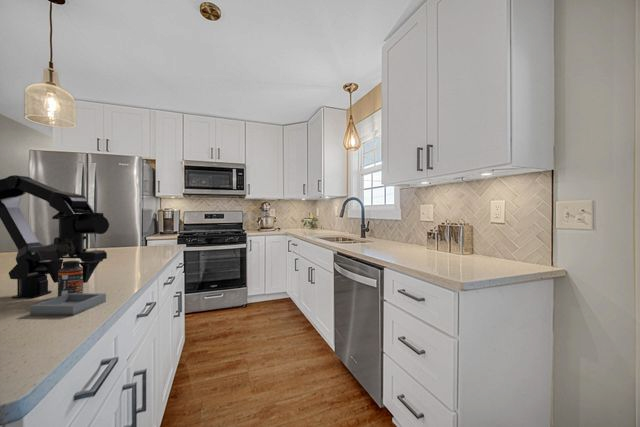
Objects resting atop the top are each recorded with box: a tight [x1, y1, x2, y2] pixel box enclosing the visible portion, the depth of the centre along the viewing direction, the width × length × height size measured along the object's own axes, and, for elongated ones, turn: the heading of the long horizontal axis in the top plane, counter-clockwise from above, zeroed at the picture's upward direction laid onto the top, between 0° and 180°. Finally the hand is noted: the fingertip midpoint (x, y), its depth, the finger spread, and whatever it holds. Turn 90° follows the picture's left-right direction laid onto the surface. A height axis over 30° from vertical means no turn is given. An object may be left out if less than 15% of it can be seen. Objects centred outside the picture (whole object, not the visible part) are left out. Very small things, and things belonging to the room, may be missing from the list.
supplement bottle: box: [57, 260, 84, 297], centre depth 86 cm, size 6×6×11 cm
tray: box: [30, 292, 107, 317], centre depth 76 cm, size 11×11×2 cm
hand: (70, 282), depth 86 cm, fingers open, 9 cm apart
